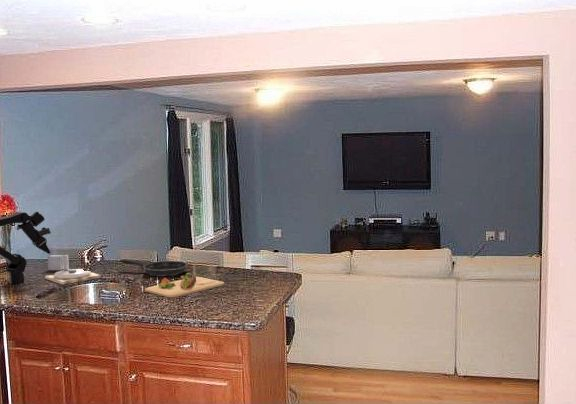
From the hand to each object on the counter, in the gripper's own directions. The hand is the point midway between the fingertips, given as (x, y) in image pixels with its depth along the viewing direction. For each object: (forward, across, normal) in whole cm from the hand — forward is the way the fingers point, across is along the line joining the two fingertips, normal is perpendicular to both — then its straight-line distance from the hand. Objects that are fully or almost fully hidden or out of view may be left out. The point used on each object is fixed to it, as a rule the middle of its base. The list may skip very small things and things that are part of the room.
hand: (49, 252), depth 331 cm
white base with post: (+17, -6, -2) cm, 18 cm away
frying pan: (+44, -18, -36) cm, 60 cm away
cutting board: (+50, -63, -36) cm, 88 cm away
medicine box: (+13, +24, +2) cm, 28 cm away
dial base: (+19, -6, 0) cm, 20 cm away
